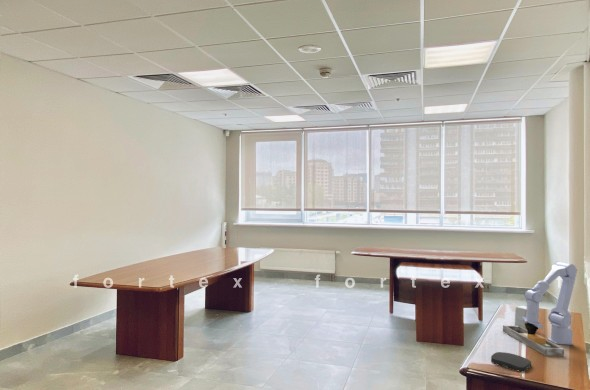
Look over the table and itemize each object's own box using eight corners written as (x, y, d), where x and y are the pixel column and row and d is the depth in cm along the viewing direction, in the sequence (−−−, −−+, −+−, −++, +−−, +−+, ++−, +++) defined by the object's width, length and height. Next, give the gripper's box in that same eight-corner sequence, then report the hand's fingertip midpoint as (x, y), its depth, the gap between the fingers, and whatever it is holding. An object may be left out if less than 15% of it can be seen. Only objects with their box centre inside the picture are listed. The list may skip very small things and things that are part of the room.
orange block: (537, 340, 213) (538, 334, 213) (545, 344, 207) (545, 338, 207) (527, 339, 213) (527, 334, 213) (534, 343, 207) (534, 338, 207)
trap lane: (519, 332, 232) (519, 326, 232) (563, 356, 196) (564, 349, 197) (502, 331, 232) (503, 325, 232) (544, 355, 196) (545, 348, 196)
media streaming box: (500, 355, 193) (500, 349, 193) (533, 365, 182) (533, 359, 182) (488, 362, 183) (488, 356, 183) (522, 374, 172) (523, 367, 172)
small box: (524, 331, 235) (526, 309, 235) (514, 328, 240) (515, 306, 240) (531, 329, 239) (532, 308, 240) (521, 326, 245) (522, 305, 245)
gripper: (517, 308, 221) (515, 332, 221) (534, 316, 207) (532, 342, 207) (529, 309, 222) (528, 333, 221) (547, 316, 207) (545, 342, 207)
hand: (531, 337), depth 214 cm, fingers closed
